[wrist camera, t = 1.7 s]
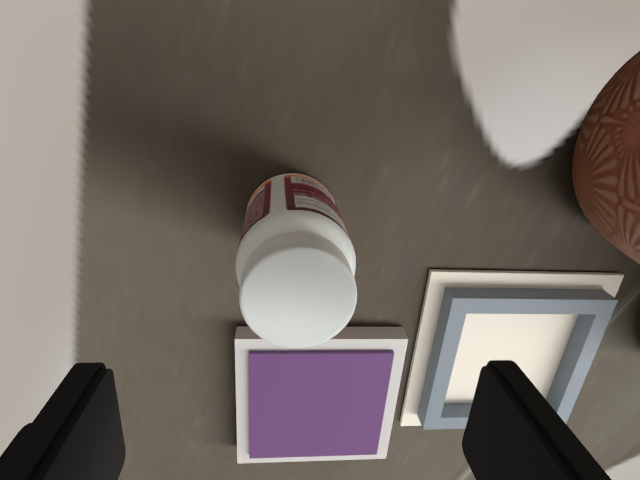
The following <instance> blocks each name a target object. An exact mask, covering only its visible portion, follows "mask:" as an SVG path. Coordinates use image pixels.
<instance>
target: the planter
mask: <svg viewBox="0 0 640 480" xmlns="http://www.w3.org/2000/svg"><path fill="white" fill-rule="evenodd" d="M572 175H573V185H574V190H575V194H576V197H577V200H578V203H579V205H580V207H581V209H582V211H583V213H584V215H585V216H586V218H587V219H588V220H589V222H590V223H591V224H592V226H593V227H594V228H595V229H596V230H597V231H598V232H599V233H600V234H601V235H602V236H603V237H604V238H605V239H606V240H608V241H609V242H610V243H611V244H613V245H614V246H615V247H616V248H618V249H619V250H620V251H622V252H623V253H624V254H626V255H627V256H628V257H630V258H631V259H632V260H634V261H635V262H637V263H638V264H640V51H639V52H638V53H637V54H636V55H634V56H633V57H632V58H631V59H630V60H628V61H627V62H626V63H625V64H624V65H623V66H622V67H621V68H620V69H619V70H618V71H617V72H616V73H615V74H614V76H613V77H612V78H611V79H610V80H609V81H608V83H607V84H606V85H605V86H604V87H603V89H602V90H601V92H600V93H599V94H598V96H597V97H596V99H595V100H594V102H593V104H592V105H591V107H590V109H589V111H588V113H587V115H586V117H585V119H584V121H583V123H582V126H581V128H580V131H579V134H578V137H577V140H576V145H575V149H574V155H573V171H572Z"/></svg>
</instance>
